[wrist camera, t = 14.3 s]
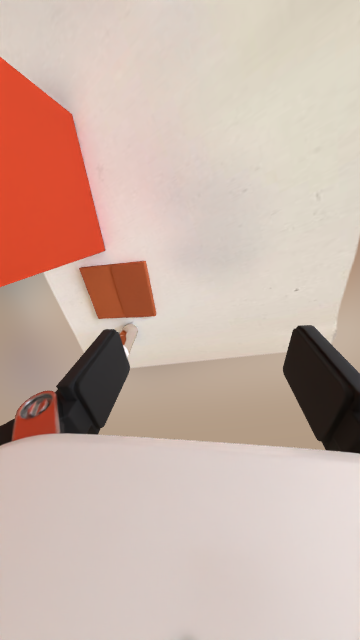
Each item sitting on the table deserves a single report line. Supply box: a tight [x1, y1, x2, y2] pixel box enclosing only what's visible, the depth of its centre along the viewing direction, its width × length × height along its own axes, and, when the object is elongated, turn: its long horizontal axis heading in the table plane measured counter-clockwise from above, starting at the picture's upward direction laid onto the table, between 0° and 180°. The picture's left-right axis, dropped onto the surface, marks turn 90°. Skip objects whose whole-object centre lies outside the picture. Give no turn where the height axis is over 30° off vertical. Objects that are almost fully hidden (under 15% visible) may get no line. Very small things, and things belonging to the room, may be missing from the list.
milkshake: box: [119, 324, 138, 358], centre depth 37 cm, size 4×5×10 cm
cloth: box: [79, 261, 156, 319], centre depth 36 cm, size 11×13×1 cm
